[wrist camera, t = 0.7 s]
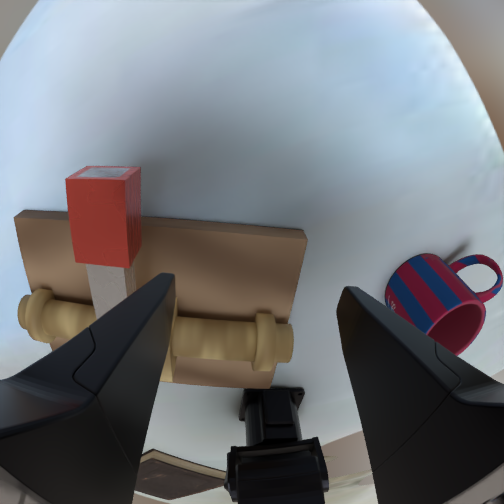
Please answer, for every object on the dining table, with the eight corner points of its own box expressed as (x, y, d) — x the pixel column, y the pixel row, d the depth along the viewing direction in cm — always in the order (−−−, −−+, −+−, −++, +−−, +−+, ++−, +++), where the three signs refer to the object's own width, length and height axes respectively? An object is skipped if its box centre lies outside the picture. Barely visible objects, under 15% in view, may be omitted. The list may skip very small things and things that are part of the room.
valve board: (268, 377, 29) (274, 429, 24) (62, 352, 27) (41, 396, 21) (303, 230, 21) (325, 279, 16) (23, 210, 19) (-22, 246, 14)
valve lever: (155, 375, 20) (150, 399, 18) (118, 369, 19) (110, 393, 17) (140, 167, 13) (124, 180, 11) (87, 166, 13) (65, 178, 11)
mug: (374, 281, 24) (408, 337, 18) (463, 219, 22) (513, 257, 16) (396, 325, 27) (425, 377, 21) (474, 270, 24) (513, 311, 18)
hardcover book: (106, 470, 45) (104, 479, 43) (153, 446, 38) (151, 459, 36) (171, 492, 51) (171, 500, 49) (235, 472, 43) (235, 483, 41)
